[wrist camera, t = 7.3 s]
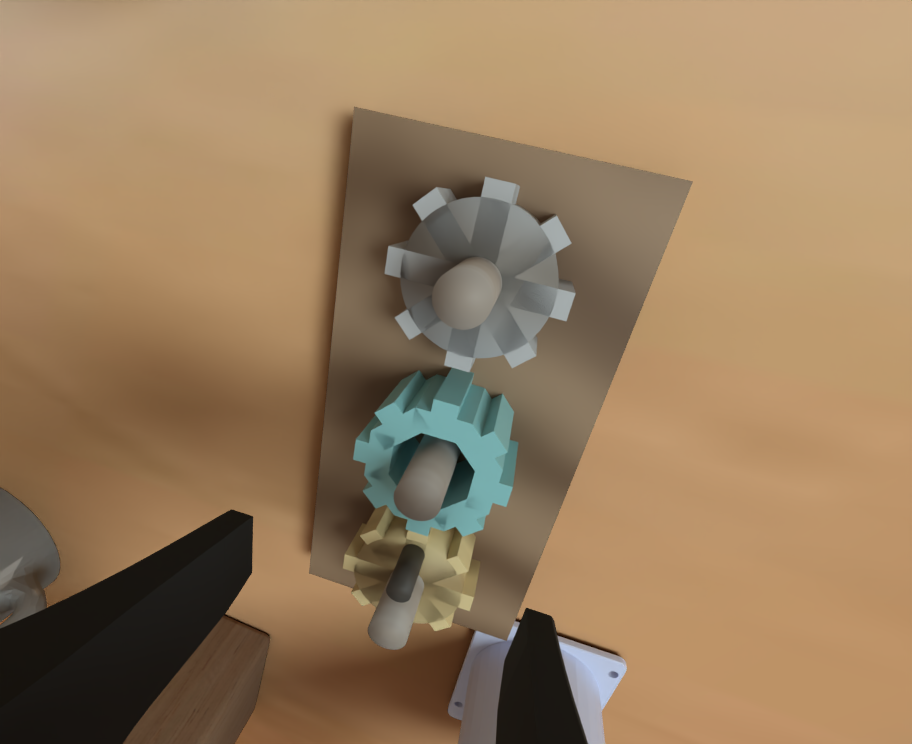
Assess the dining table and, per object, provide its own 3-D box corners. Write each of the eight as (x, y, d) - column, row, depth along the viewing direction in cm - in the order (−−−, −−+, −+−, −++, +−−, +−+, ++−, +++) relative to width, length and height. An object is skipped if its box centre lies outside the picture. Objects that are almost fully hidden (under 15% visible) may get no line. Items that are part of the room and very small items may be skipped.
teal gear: (498, 504, 19) (489, 556, 16) (374, 466, 19) (346, 509, 16) (535, 390, 16) (533, 427, 14) (393, 350, 17) (364, 378, 14)
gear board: (509, 615, 23) (497, 743, 18) (322, 552, 24) (256, 654, 19) (678, 183, 14) (762, 171, 9) (371, 115, 15) (273, 66, 10)
